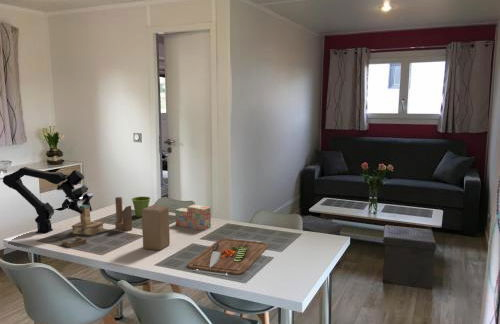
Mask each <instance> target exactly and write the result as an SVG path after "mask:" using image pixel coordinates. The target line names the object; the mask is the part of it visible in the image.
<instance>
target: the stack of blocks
mask: <svg viewBox="0 0 500 324" xmlns="http://www.w3.org/2000/svg"><path fill="white" fill-rule="evenodd" d="M211 210H212V209H211V206H210V207H209V206H205V205H198V204H191V205H189V206H186V207H180V208H178V209H175V212H174V213H175V225H176V226H180V227H185V228H190V229H195V230H199V231H206V230H209V229H211V227H212V225H211V224H212V223H211V221H212V219H211V217H212V214H211V213H212V212H211Z"/></svg>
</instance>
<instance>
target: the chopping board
mask: <svg viewBox="0 0 500 324" xmlns="http://www.w3.org/2000/svg"><path fill="white" fill-rule="evenodd" d="M269 245H270V244H269V243H268V242H263V241H260V240H251V239H241V238H234V237H233V238H220V239H218V240H217V241H216V242H214V243H213V244H212V245H210V246H209V247H208V248H206V249H205V250H203V251H202V252H201V253H200V254H198V255H196V256H195V257H194V258H193V259H191V260H190V261H189V262H187V264H186V266H187V268H188V269H191V270H192V269H193V270H192V272H196V273H204V274H210V275H218V276H223V277H229V274H230V275H238V276H239V275H243V274H245V273H247V271H248V270H249V269H250V268H251V267H252V266H253V264H255V262H257V260H258V259H259V258H260V257H261V256H262V255H263V253H264V252H265V251H266V250H267V249H268V248H269Z"/></svg>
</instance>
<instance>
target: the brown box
mask: <svg viewBox="0 0 500 324" xmlns="http://www.w3.org/2000/svg"><path fill="white" fill-rule="evenodd" d="M71 228H72V234H74V235H86V236H87V235H89V236H95V235H97V234H99V233H102V231H104V222H102V221H91V225H88V226H81V221H79V222H78V223H75V224H73V225H71Z"/></svg>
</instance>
